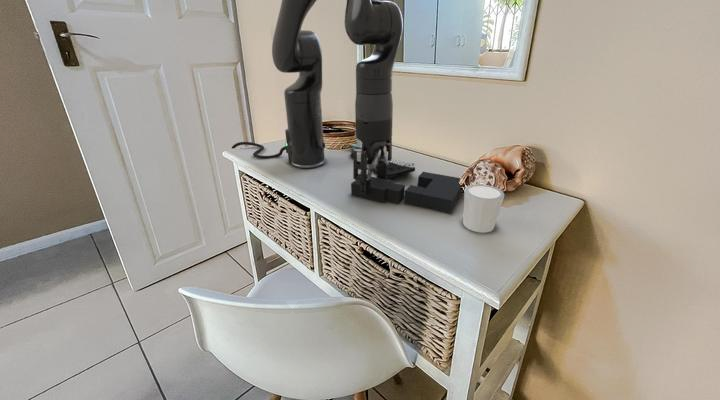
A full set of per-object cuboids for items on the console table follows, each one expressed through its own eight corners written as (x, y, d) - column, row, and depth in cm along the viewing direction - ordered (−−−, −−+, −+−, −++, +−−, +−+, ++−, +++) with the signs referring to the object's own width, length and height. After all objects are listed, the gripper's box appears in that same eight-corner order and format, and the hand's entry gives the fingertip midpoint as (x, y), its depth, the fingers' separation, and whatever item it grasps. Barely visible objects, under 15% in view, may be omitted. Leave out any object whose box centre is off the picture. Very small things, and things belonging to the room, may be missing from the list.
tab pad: (351, 195, 75) (350, 183, 73) (362, 186, 79) (362, 174, 78) (396, 205, 70) (397, 193, 69) (405, 195, 74) (406, 183, 73)
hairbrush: (363, 142, 100) (423, 161, 82) (363, 154, 102) (422, 175, 83) (340, 148, 96) (398, 169, 77) (341, 160, 98) (398, 184, 79)
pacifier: (376, 150, 103) (365, 144, 108) (377, 130, 100) (365, 125, 105) (356, 154, 100) (346, 149, 104) (357, 134, 97) (346, 129, 101)
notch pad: (404, 203, 71) (404, 190, 70) (422, 182, 81) (422, 171, 79) (450, 213, 67) (452, 200, 66) (463, 190, 76) (465, 178, 75)
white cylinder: (503, 223, 63) (510, 190, 60) (488, 238, 59) (495, 204, 56) (469, 212, 67) (474, 180, 64) (453, 225, 63) (457, 192, 60)
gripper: (372, 107, 74) (372, 174, 82) (340, 121, 63) (343, 197, 70) (404, 109, 71) (401, 179, 78) (375, 124, 60) (375, 204, 67)
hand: (373, 188), depth 74 cm, fingers open, 8 cm apart
